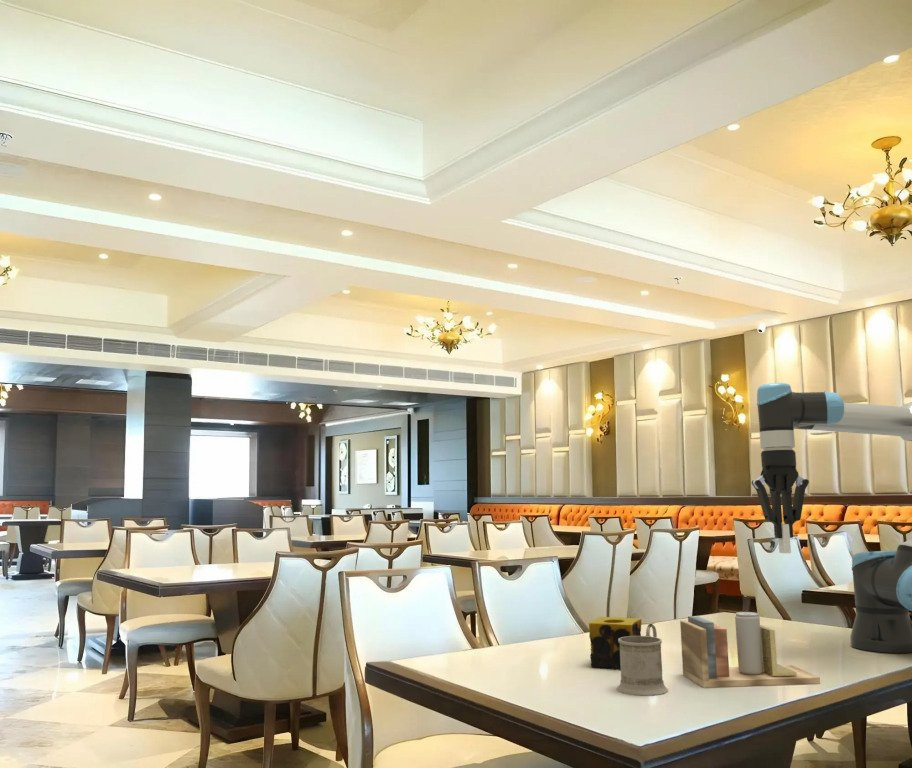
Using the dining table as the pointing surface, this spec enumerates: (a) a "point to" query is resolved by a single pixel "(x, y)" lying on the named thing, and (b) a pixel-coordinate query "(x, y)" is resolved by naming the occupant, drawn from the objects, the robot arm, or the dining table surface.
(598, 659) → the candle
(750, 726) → the dining table surface
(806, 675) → the shelf
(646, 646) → the mug
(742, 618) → the beverage can
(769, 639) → the bookend
